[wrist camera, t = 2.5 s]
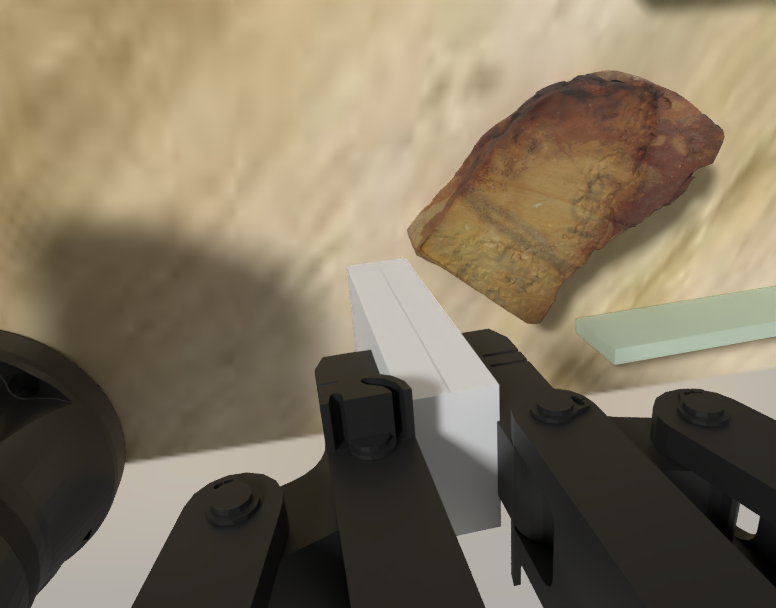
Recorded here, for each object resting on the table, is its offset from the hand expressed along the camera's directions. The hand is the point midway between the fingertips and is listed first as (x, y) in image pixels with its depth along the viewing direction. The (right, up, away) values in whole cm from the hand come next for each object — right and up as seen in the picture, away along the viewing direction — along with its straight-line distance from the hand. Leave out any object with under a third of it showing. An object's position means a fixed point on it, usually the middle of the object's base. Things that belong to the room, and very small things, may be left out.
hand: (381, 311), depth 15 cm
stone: (+9, +7, +19) cm, 22 cm away
